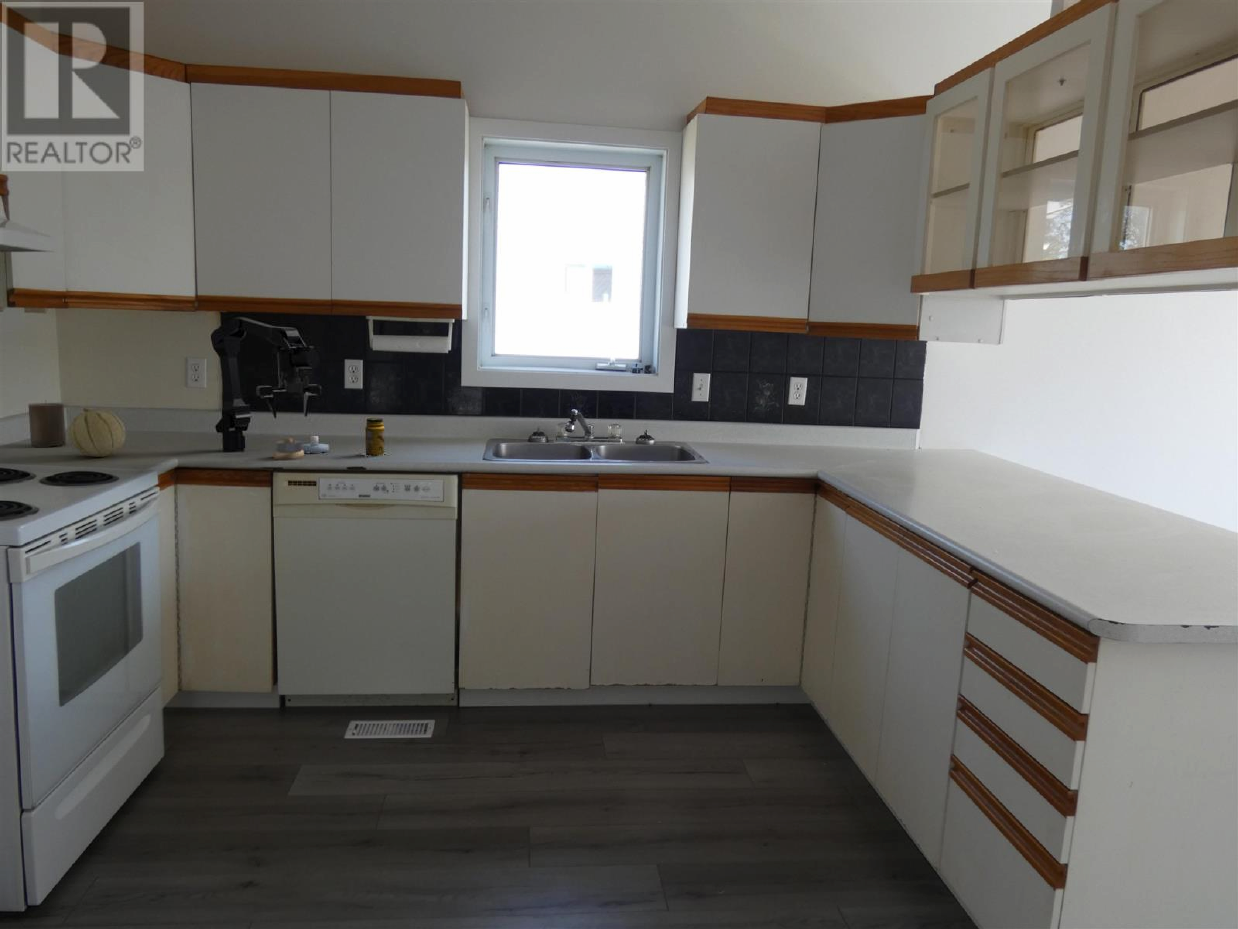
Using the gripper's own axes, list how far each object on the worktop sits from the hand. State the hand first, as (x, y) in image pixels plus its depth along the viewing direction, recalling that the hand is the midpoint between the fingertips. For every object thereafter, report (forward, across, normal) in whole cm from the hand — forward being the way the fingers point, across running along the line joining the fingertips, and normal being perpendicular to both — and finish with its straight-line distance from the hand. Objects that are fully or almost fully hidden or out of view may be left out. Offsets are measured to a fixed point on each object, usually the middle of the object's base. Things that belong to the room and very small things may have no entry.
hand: (290, 417), depth 279 cm
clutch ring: (+11, -1, 0) cm, 11 cm away
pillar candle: (+10, -64, +52) cm, 83 cm away
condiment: (+14, +25, -3) cm, 28 cm away
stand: (+13, -1, 0) cm, 13 cm away
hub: (+13, +9, +10) cm, 18 cm away
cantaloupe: (+11, -52, +22) cm, 58 cm away
